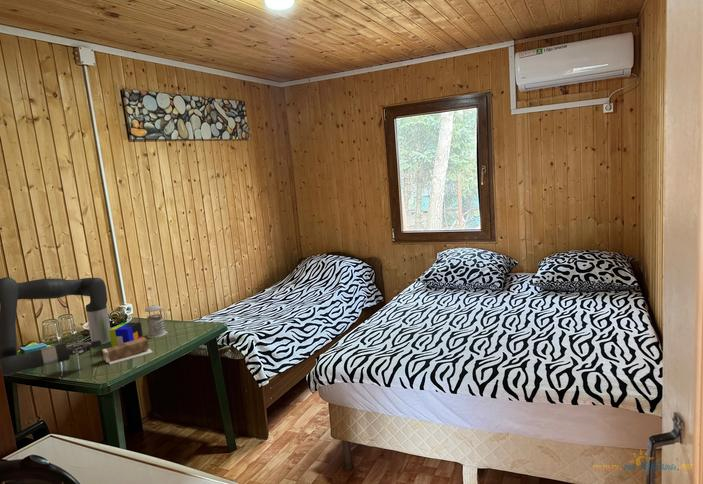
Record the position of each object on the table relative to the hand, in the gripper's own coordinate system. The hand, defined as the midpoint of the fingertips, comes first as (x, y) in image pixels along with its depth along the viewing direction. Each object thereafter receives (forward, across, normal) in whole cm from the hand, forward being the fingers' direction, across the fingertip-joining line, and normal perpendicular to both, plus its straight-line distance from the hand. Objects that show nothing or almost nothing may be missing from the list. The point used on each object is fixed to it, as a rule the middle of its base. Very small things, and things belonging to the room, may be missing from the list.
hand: (100, 342), depth 212 cm
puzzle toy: (+13, +15, +9) cm, 22 cm away
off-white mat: (+10, 0, +9) cm, 14 cm away
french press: (+29, +22, +9) cm, 37 cm away
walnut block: (0, 0, +6) cm, 6 cm away
